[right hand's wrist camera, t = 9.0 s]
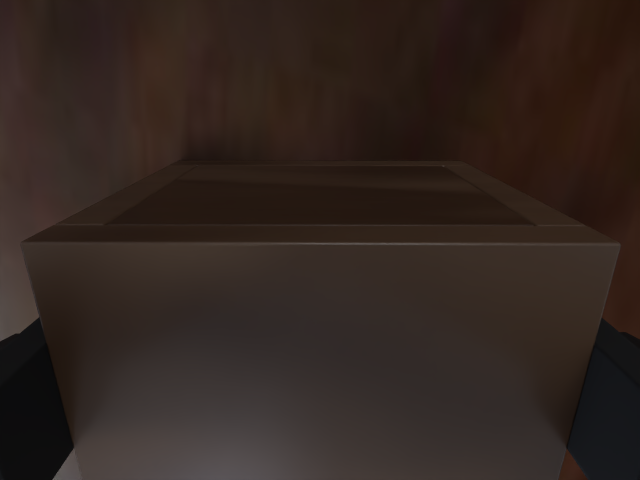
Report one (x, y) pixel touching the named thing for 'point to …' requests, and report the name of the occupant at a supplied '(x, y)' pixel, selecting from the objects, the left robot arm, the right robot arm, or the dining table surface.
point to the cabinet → (320, 323)
